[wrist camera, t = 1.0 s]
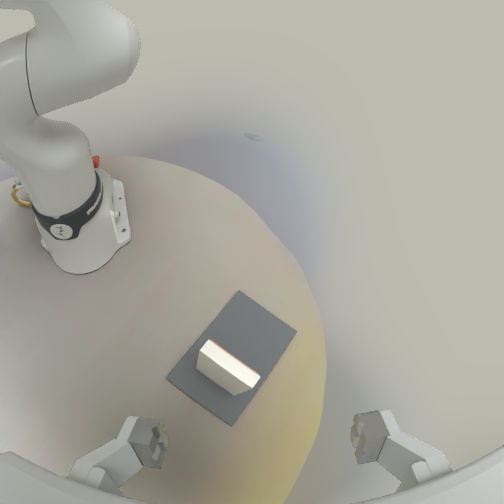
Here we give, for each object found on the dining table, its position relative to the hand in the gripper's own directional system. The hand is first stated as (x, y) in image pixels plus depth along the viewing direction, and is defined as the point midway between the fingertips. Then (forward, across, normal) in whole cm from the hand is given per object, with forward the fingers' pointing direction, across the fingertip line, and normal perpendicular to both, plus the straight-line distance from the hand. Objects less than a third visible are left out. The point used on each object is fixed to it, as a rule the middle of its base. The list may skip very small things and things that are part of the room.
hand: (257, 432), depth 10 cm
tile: (+26, +7, +18) cm, 33 cm away
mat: (+30, +5, +16) cm, 34 cm away
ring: (+40, +48, -10) cm, 63 cm away
